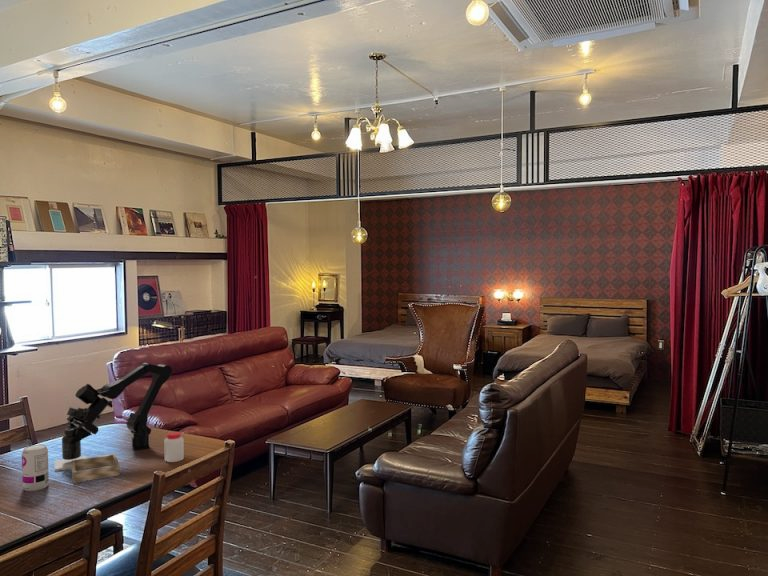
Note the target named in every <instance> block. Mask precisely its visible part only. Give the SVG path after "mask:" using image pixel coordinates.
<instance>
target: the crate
mask: <svg viewBox="0 0 768 576" xmlns="http://www.w3.org/2000/svg"><path fill="white" fill-rule="evenodd" d="M93 467H95V468H93ZM85 468H88V469H85ZM80 469H82V470H80ZM120 474H121V473H120V463H119V460H118V458H117V455H116V453H111V454H106V455H105V454H104V455H99V456H98V455H97V456H93V457H87V458H85V459H78V460H72V469H71V475H72V476H71V477H72V484H76V483H81V481H82V482H87V481H86V480H88V481H93V479H94V480H99V479H103V478H104V479H105V478H111V477H117V476H120ZM75 482H76V483H75Z"/></svg>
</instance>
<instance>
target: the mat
mask: <svg viewBox="0 0 768 576" xmlns="http://www.w3.org/2000/svg"><path fill="white" fill-rule="evenodd" d="M85 458H88V455H81V456H80V457H79V458H76V459H72V460H78V459H85ZM72 460H64V459H63V458H62V459H56V460H54V472H60V471H59V470H62V471H66V469H68V470H72Z"/></svg>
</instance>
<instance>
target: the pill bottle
mask: <svg viewBox="0 0 768 576" xmlns="http://www.w3.org/2000/svg"><path fill="white" fill-rule="evenodd" d="M184 440H185V439H184V437H183V436H181V431H171V432H167V434H166V438H164V440H163V441H164V442H163V443H164V444H163V447H164V449H163V450H164V451H163V452H164V461H165V462H166V461H167V463H175V462H180V461H182V460H184V459H185V452H184V451H185V450H184V449H185V448H184V447H185V446H184Z"/></svg>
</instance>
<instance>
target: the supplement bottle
mask: <svg viewBox="0 0 768 576" xmlns="http://www.w3.org/2000/svg"><path fill="white" fill-rule="evenodd" d="M77 432H78V429H77V428H75V427H74V428H69V427H68V428H64V434H63V436H62V438H61V451H62V452H61V457H62V459H64V460H72V459H76V458H79V457H82V442H81V441H82V440H80V441H78V442H77V443H75V444H73V445H72V444H71V441H72V440H73V438H74V437H75V435H76V434H77Z"/></svg>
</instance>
